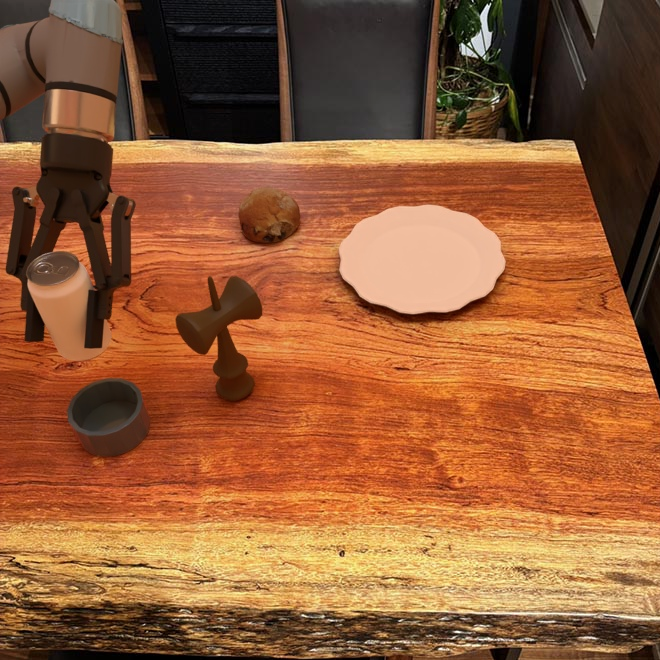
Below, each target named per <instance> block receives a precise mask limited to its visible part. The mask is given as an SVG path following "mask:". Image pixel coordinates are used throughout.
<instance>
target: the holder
mask: <svg viewBox="0 0 660 660" xmlns="http://www.w3.org/2000/svg"><path fill="white" fill-rule="evenodd" d="M66 416H67V422H68V424H69V426H70V428H71V431H72V432H73V434H74V436H75V438H76V440H77V442H79V444H80V446H81V447H82V449H84V451H86V452H88V453H89V454H91V455H93V456H97V457H102V458H103V457H105V458H110V457H116V456H121V455H123V454H127V453H128V452H130V451H131V450H134V449H136V447H138V445H140V444H141V443H142V442H143V441H144V440H145V438H146V437H147V435H148V434H149V431H150V428H151V416H150V414H149V409H148V406H147V404H146V401H145V398H144V395H143V393H142V391H141V389H140V388H139V387H138V386H137V385H136V384H135V383H134V382H132V381H131V380H128V379H127V380H126V379H124V378H121V377H120V378H119V377H107V378H106V377H105V378H102V379H99V380H96V381H92V382H91V383H89V384H87V385H85V386H84V387H82V388H80V389H79V390H78V391H77V393H75V394H74V396H73V397H72V398H71V399H70V401H69V404H68V407H67V409H66Z"/></svg>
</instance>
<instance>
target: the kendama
mask: <svg viewBox="0 0 660 660" xmlns="http://www.w3.org/2000/svg"><path fill="white" fill-rule="evenodd" d="M207 287H208V292H209V297H210V303H211V305H210V306H208V307H206V308H204V309H202V310H199V311H192V312H181V313H177V314H176V317H175V319H174V320H175V327H176V329H177V332H178V334H179V336H180V337H181V339H182V341H184V343H185V344H186V345H187V347H189V348H190V349H191V350H192V351H193V352H195V353H197V354H199V355H201V356H206V355H207V354H208V353H209V352H210V349H211V348H212V346H213V344H214V343H215V340H216V341H217V342H216V343H217V358H216V360H215V361H214V363H213V364H212V371H213V373H214V374H215V375H216V376H217V377H218V378H217V381H216V383H215V386H214V387H215V392H216V393H217V395H218V396H219V397H220V398H221V399H223V400H225V401H230V402H237V401H241V400H243V399H244V398H247V397H248V396H249V395H250V394H251V393H252V392H253V391H254V389H255V386H256V383H255V378H254V377H253V376H252V374H250V372H247V369H248V366H249V362H248V358H247V357H246V356H245V355H244V354H242V353H241V352H238V349H237V347H236V345H235V343H234V341H233V339H232V336H231V334H230V331H229V328H228V327H229V326H230V325H231V324H234V323H235V322H237V321H256V320H259V319H261V317H262V316H263V305H262V302H261V299H260V297H259V295H258V294H257V291H256V290H255V289H254V288H253V287H252V285H250V284H249V282H247V281H246V280H245V279H243V278H241V277H239V276H238V275H232V276H229V278H228V280H227V281H226V284H225V286H224V288H223V291H222V293H221V294H220V297H219V295H218V291H217V287H216V285H215V281H214V278H213V277H212V275H211V276H208V277H207Z"/></svg>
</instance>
